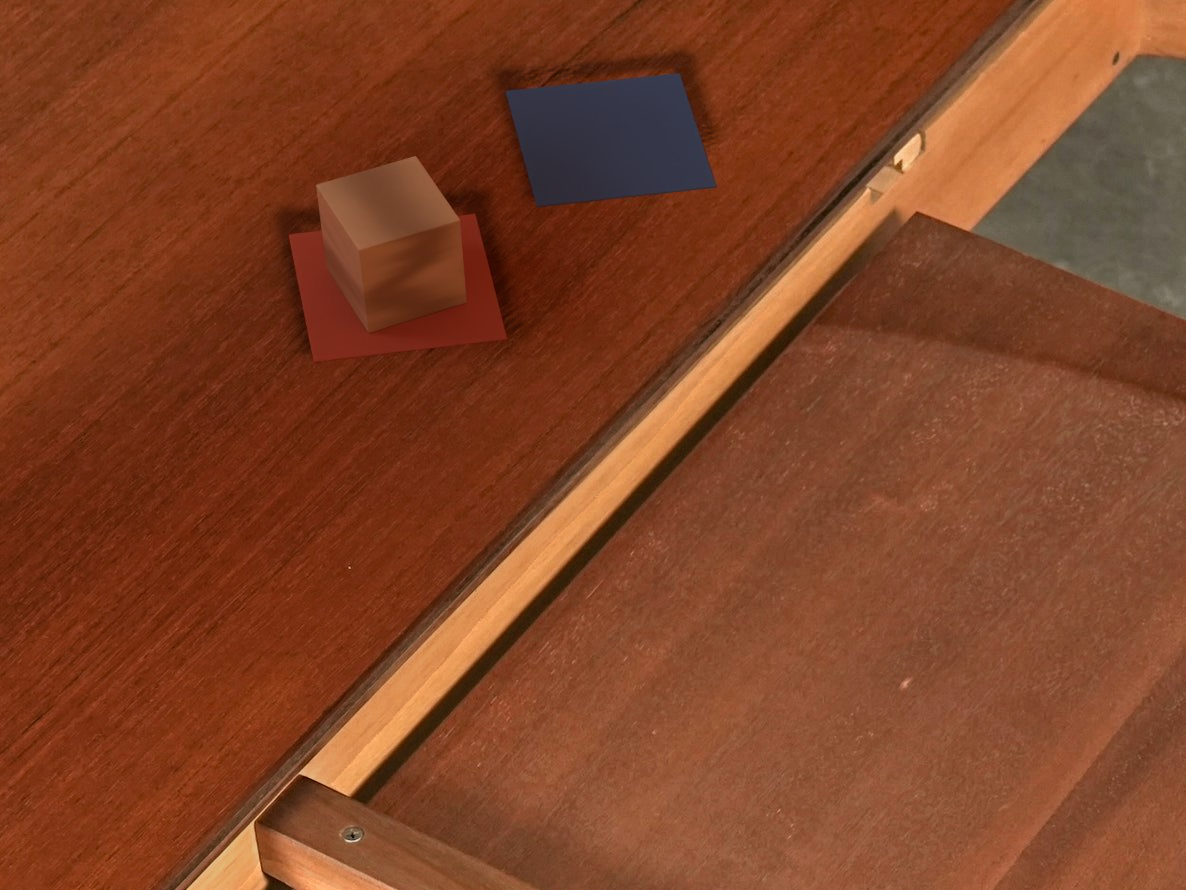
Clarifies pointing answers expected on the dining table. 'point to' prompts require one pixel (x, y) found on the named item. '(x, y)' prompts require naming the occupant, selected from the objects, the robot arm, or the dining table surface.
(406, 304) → the birch block
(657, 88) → the blue mat
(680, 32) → the dining table surface
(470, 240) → the terracotta mat
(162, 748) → the dining table surface
